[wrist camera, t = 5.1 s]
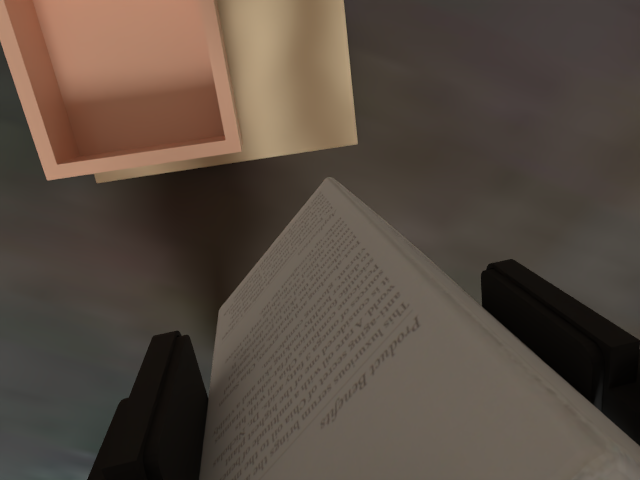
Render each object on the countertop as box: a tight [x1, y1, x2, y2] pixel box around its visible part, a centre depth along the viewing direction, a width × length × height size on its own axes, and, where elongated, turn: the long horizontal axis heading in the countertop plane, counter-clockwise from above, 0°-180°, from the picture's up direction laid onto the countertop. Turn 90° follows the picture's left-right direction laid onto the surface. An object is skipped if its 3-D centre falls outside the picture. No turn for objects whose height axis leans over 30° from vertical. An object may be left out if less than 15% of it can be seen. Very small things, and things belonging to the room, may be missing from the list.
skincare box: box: [199, 177, 640, 480], centre depth 10 cm, size 6×4×12 cm
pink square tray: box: [0, 0, 243, 180], centre depth 23 cm, size 10×10×4 cm
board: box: [94, 0, 358, 183], centre depth 26 cm, size 16×12×1 cm
